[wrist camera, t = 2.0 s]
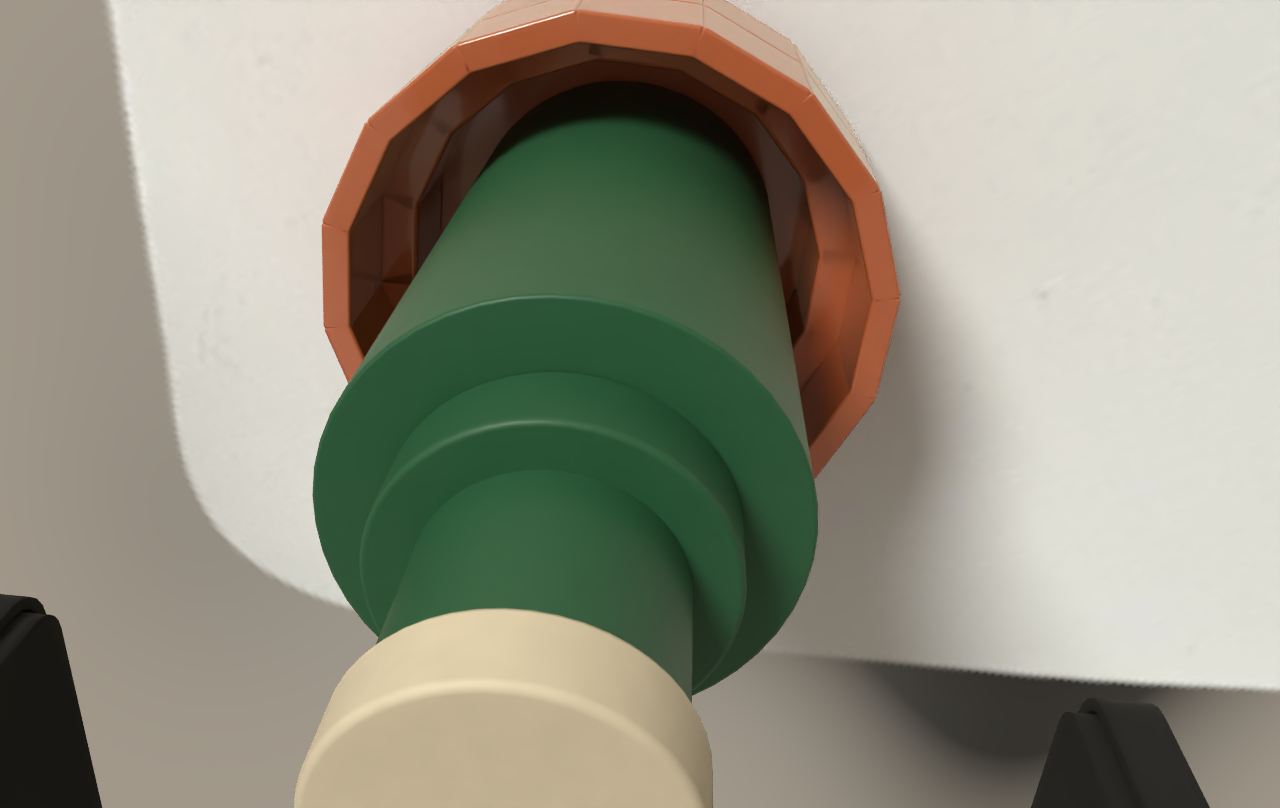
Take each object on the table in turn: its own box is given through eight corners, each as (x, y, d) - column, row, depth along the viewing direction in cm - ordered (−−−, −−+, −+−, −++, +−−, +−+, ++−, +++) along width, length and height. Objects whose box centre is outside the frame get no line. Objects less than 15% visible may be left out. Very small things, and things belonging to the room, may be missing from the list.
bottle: (415, 203, 23) (-15, 781, 9) (647, 13, 21) (538, 393, 7) (601, 411, 25) (476, 1135, 11) (829, 258, 23) (1010, 910, 9)
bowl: (296, 178, 24) (203, 262, 19) (667, -144, 20) (655, -132, 16) (592, 495, 27) (570, 628, 23) (950, 263, 24) (1005, 366, 19)
